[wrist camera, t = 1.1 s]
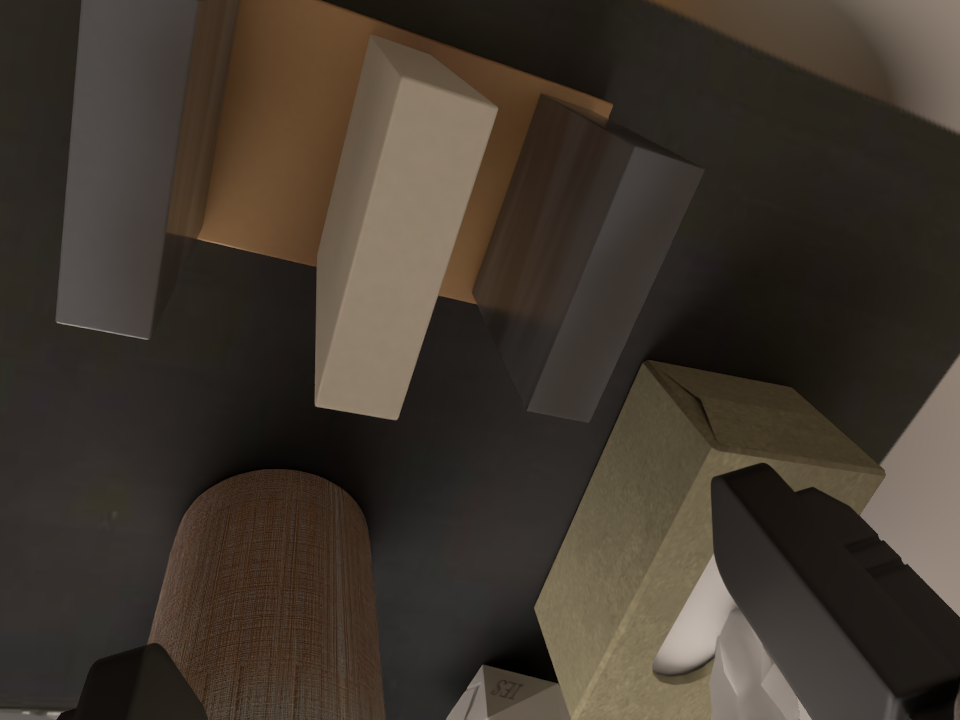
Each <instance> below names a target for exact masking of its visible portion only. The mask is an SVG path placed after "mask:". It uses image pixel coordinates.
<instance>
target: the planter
mask: <svg viewBox="0 0 960 720" xmlns="http://www.w3.org/2000/svg"><path fill="white" fill-rule="evenodd" d="M151 643H158V644H160V645H161V646H162V647H163V648H164V649H165V650H166V651H167V653H168V654H169V656H170V657H171V659H172V660H173V662H174V663H175V665H176V666H177V668H178V669H179V671H180V672H181V674H182V675H183V677H184V678H185V680H186V681H187V682H188V684H189V685H190V687H191V688H192V690H193V691H194V693H195V694H196V696H197V697H198V699H199V700H200V702H201V703H202V705H203V707H204V709H205V711H206V714H207V717H208V720H386V716H385V704H384V693H383V681H382V670H381V658H380V647H379V635H378V624H377V612H376V601H375V589H374V577H373V566H372V554H371V544H370V538H369V532H368V527H367V523H366V519H365V517H364V514H363V512H362V510H361V509H360V507H359V505H358V504H357V503H356V502H355V500H354V499H353V498H352V497H351V496H350V495H349V494H348V493H347V492H346V491H344V490H343V489H342V488H340V487H339V486H337V485H336V484H334V483H332V482H330V481H328V480H326V479H324V478H322V477H319V476H316V475H313V474H310V473H306V472H302V471H296V470H287V469H266V470H258V471H252V472H247V473H243V474H240V475H236V476H234V477H231V478H228V479H226V480H224V481H222V482H220V483H218V484H216V485H215V486H213V487H211V488H210V489H208V490H207V491H205V492H204V493H203V494H202V495H201V496H199V497H198V498H197V499H196V500H195V501H194V502H193V504H192V505H191V506H190V507H189V509H188V510H187V511H186V513H185V515H184V517H183V518H182V521H181V523H180V526H179V529H178V532H177V535H176V537H175V540H174V543H173V547H172V550H171V554H170V558H169V562H168V566H167V570H166V574H165V578H164V581H163V585H162V589H161V593H160V597H159V601H158V605H157V609H156V612H155V616H154V620H153V624H152V628H151V632H150V636H149V640H148V643H147V645H148V644H151Z"/></svg>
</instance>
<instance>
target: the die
mask: <svg viewBox="0 0 960 720" xmlns="http://www.w3.org/2000/svg"><path fill="white" fill-rule="evenodd" d="M446 720H572V719H571V718H570V715H569V712H568V709H567V706H566V703H565V700H564V697H563V694H562V691H561V688H560V686H559V684H558V683H554V682H550V681H546V680H542V679H538V678H534V677H530V676H526V675H522V674H518V673H514V672H510V671H506V670H502V669H498V668H494V667H490V666H486V665H482V666H481V668H480V669H479V671H478V672H477V674H476V675H475V677H474V678H473V680H472V681H471V683H470V684H469V686H468V687H467V690H466V691H465V692H464V693H463V695H462V696H461V698H460V699H459V701H458V702H457V704H456V705H455V707H454V708H453V710H452V711H451V713H450V714H449V716H448V717H447V719H446Z"/></svg>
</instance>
